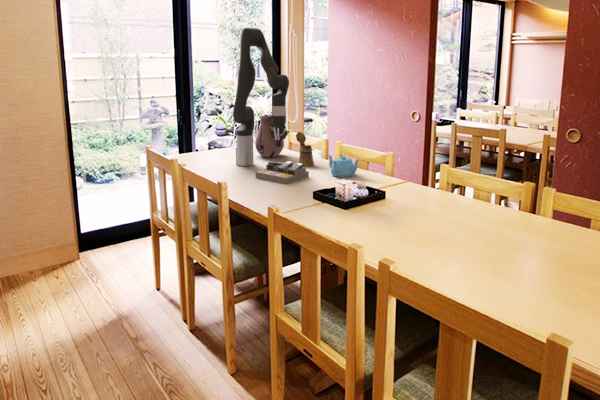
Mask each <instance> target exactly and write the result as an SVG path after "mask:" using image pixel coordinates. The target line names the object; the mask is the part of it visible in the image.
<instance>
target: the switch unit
mask: <svg viewBox="0 0 600 400" xmlns="http://www.w3.org/2000/svg"><path fill="white" fill-rule="evenodd" d="M283 164H284V163H283ZM283 164H280V165H276V166H270V165H268V163H267V164H266V165H265V167H266V168H265V169H261V170H258V171H255V178H256V179H260V180H264V181H269V182H274V183H275V182H276V183H279V184H285V185H289V184H291V183H292V184H293V183H295V182H298V181H301V180H304V179H308V178H309V176H310V175H309V173H310V171H308V170H307V167H305V166H304V167H303V168H300V169H297V170H295V173H290V172H289V169H290V168H291V167H293V166H294V165H295V164H293V165H292V166H290V167H286V168H284V171H280V170H279V169H278V167H280V166H281V165H283Z"/></svg>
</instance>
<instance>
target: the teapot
mask: <svg viewBox="0 0 600 400" xmlns="http://www.w3.org/2000/svg"><path fill="white" fill-rule="evenodd" d="M327 156H328V158H329V162H328V163H329V164H328V165H329V169H330V173H331V175H332V176H334V177H336V178H350V177H353V176H354V175H355V174H356V172H357V170H358V165H359V164H358V163H359V161H360V160H361V159H360V158H359V159H356V160H355V161H354V163H353V160H352V158H350V157H346V155H340V157H337V158H335V160H333V157H332V155H330V154H327Z"/></svg>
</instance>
